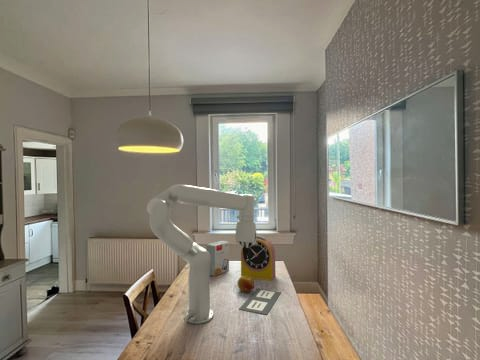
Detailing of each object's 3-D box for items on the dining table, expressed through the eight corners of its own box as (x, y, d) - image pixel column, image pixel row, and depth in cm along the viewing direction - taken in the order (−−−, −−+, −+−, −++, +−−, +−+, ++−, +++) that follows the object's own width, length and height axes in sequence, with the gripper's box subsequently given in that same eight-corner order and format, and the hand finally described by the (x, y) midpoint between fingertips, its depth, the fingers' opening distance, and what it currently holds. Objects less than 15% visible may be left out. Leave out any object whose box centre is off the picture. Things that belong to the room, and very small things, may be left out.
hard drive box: (214, 276, 168) (214, 246, 168) (206, 274, 173) (205, 244, 173) (229, 270, 180) (229, 241, 181) (221, 268, 185) (221, 240, 185)
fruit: (257, 291, 145) (257, 277, 145) (245, 296, 139) (245, 281, 139) (246, 286, 152) (246, 272, 152) (234, 290, 147) (234, 276, 147)
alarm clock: (240, 276, 168) (240, 235, 168) (245, 271, 176) (245, 233, 177) (272, 280, 160) (271, 238, 160) (275, 275, 168) (275, 235, 168)
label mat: (266, 315, 119) (266, 314, 119) (238, 309, 124) (238, 308, 124) (281, 292, 143) (281, 291, 143) (257, 288, 148) (257, 287, 148)
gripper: (229, 218, 130) (229, 255, 130) (257, 220, 124) (256, 259, 124) (236, 217, 137) (236, 251, 137) (262, 218, 131) (262, 255, 130)
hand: (245, 255), depth 130 cm, fingers closed
